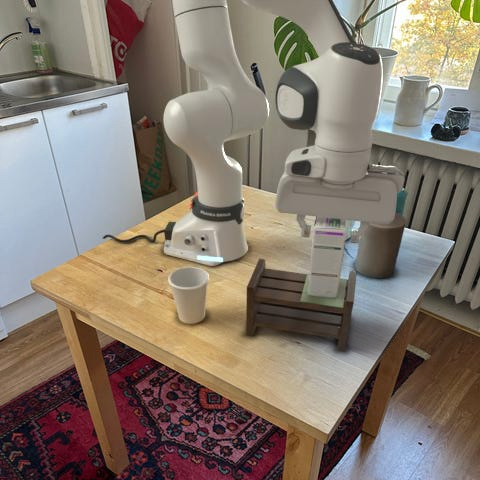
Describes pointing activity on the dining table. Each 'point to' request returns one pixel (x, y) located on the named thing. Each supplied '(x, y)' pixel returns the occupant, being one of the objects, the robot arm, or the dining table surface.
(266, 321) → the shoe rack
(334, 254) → the syrup box
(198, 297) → the dixie cup
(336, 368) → the dining table surface
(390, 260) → the pillar candle
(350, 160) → the robot arm
